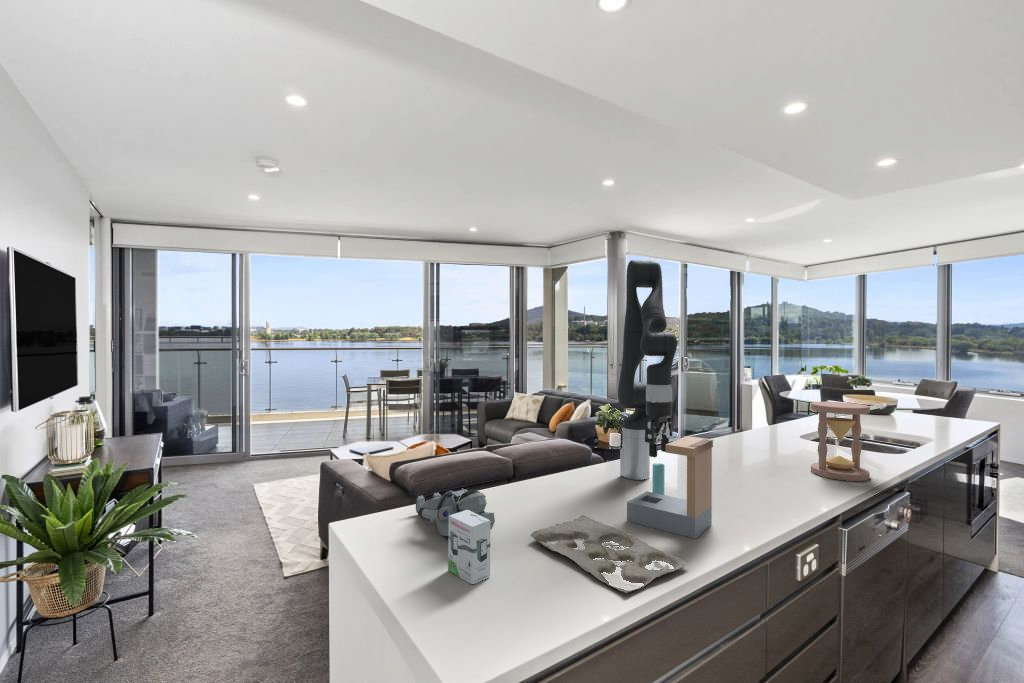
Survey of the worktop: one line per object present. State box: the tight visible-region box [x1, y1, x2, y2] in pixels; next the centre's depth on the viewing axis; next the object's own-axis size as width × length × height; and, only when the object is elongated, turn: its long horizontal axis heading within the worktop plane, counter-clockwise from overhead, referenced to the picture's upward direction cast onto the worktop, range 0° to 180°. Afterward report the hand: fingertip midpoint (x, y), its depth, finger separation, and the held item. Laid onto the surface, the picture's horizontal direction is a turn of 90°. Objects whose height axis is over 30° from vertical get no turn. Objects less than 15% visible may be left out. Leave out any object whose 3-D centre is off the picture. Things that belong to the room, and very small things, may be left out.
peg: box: [652, 462, 666, 495], centre depth 145 cm, size 3×3×11 cm
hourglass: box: [810, 401, 871, 482], centre depth 174 cm, size 18×18×25 cm
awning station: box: [626, 435, 714, 539], centre depth 129 cm, size 18×14×22 cm
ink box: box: [447, 510, 491, 585], centre depth 100 cm, size 9×5×12 cm, turn 43°
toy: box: [415, 488, 496, 537], centre depth 124 cm, size 17×11×30 cm
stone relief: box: [530, 514, 688, 594], centre depth 110 cm, size 32×3×20 cm
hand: (659, 454), depth 145 cm, fingers open, 8 cm apart
